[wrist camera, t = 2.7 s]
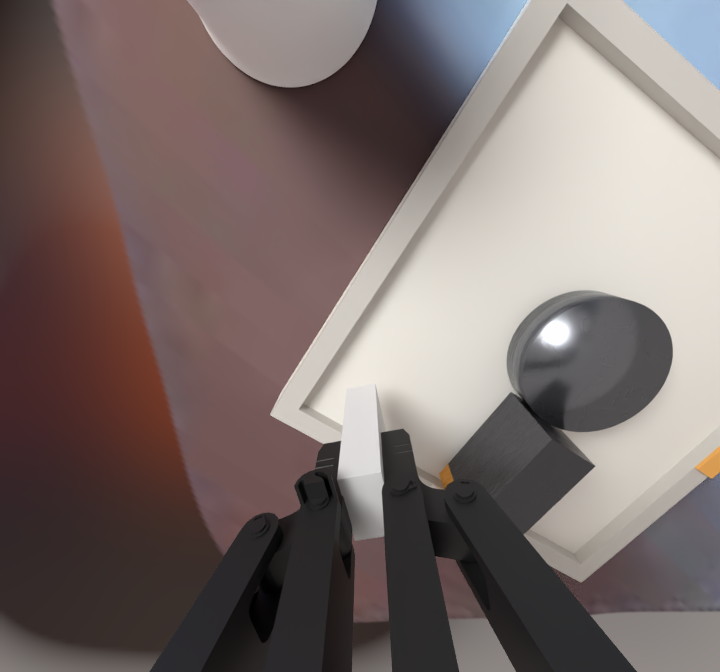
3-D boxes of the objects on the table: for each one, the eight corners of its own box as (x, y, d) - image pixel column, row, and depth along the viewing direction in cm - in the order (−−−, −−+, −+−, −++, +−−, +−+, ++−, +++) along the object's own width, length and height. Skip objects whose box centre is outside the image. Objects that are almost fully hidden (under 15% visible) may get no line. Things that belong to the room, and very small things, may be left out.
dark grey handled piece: (569, 263, 17) (638, 276, 13) (669, 336, 18) (761, 370, 14) (409, 457, 20) (421, 517, 16) (499, 507, 22) (532, 575, 17)
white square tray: (531, -6, 15) (568, -57, 13) (854, 279, 19) (939, 289, 16) (281, 391, 22) (269, 417, 19) (559, 545, 26) (583, 585, 23)
